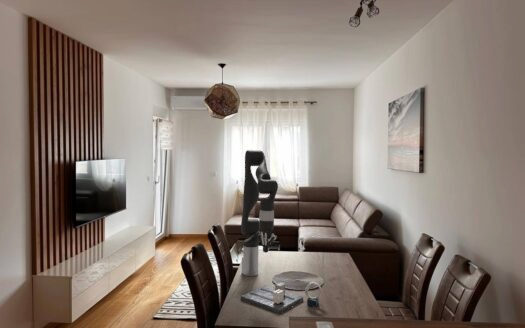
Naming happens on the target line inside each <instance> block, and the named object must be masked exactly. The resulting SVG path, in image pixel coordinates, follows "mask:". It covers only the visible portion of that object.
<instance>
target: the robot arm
mask: <svg viewBox="0 0 525 328" xmlns="http://www.w3.org/2000/svg"><path fill="white" fill-rule="evenodd" d="M267 166H268V165H267V161H266V156H265V153H264V151H262V150H257V149H253V150H252V149H247V150H246V151H245V154H244V182H243V184H244V185H243V194H242V195H243V197H242V202H243V203H242V213H241V214H242V215H241V223H240V231H241V234H242V235H245V236H246V235H247V236H249V235H251V236H250V237H248V238H246V239H245V240H243V242H242V245H243V246H242V247H243V249H242V257H241V274H242V275H243V276H245V277H254V276H255V277H256V276H258V274H259V250H260V249H259V245H260V244H262V252H263V253H268V252H269V249H270V245H272V244H274V242H275V241H276V240H277V238H278V235H275V233H274V227H275V222H274V221H275V200H276V195H277V192H278V188H279V184H278V181H277V180H275V179H271V174H270V172H269V171H268V167H267ZM252 167H257V168H256V170H255V177H256V179H257V181H256V179H255V177H254V175H253V173H252ZM260 194H262V195H264V194H266V195H267V194H269V195H268V196H267V197H263V198H260ZM259 198H260V201H259ZM258 201H259V202H260V203H259V214H258V219H257V218H249V216H250V213H251V212H252V210H253V209H254V208H255V206H256V204H257V203H258ZM259 243H260V244H259Z"/></svg>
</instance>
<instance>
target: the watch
mask: <svg viewBox="0 0 525 328" xmlns="http://www.w3.org/2000/svg"><path fill="white" fill-rule="evenodd" d="M312 285H316V286H317V287H318V288H319V292H318V294H317V295H316V296H315V295H310V294H309V293H308V291H309V289H310V288H311V287H312ZM304 293H305V295H306V297H307V300H306V301H307V303H306V306H307V307H312V308H317V306H318V304H319V298H320V295H321V293H322V287H321V284H320V283H318V282H317V281H314V280H313V281H310V282H309V283H307V285H306V286H305V288H304Z"/></svg>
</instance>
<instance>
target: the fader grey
mask: <svg viewBox="0 0 525 328" xmlns="http://www.w3.org/2000/svg"><path fill="white" fill-rule="evenodd" d="M274 288H275V291H276V290H278V289H280V290H283V291H284V294H285V291H286V283H284V282H279V283H276V284H275V285H274Z"/></svg>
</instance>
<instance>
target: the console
mask: <svg viewBox="0 0 525 328" xmlns="http://www.w3.org/2000/svg"><path fill="white" fill-rule="evenodd" d="M274 291H275V286H274V287H273V286H271V285H267V284H265V285H263V286H261V287H258V288H256V289H253V290H252V291H249V292H247V293H244V294H242V295H240V301H243V302H245V303H248V304H252V305H254V306H257V307H260V308H263V309H265V310H268V311H271V312H272V313H273V312H274V313H276V314H280V315H281V314H282V313H284V312H285V310H286V311H287V310H288V309H291V308H293V307H294V306H297V305H298V304H299V303H301V302H303V301H304V296H303V295H299V294H296V293H293V292H289V291H286V290H285V294H284V301H283V302H281V303H279V304H277V303H274V302H273V292H274ZM292 306H293V307H292Z"/></svg>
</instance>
